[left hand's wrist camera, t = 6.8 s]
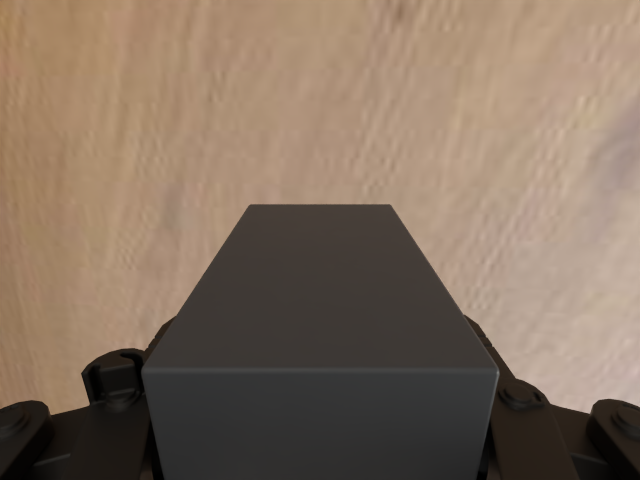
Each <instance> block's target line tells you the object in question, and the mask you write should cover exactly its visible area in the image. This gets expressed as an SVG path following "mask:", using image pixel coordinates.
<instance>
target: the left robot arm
mask: <svg viewBox="0 0 640 480" xmlns="http://www.w3.org/2000/svg"><path fill="white" fill-rule="evenodd" d="M464 316H465V318H466V319H467V321H468V322H469V324H470V325H471V327H472V328H473V330H474V331H475V333H476V334H477V336H478V337H479V339H480V341H481V342H482V344H483V345H484V347H485V348H486V350H487V351H488V353H489V354H490V356H491V357H492V359H493V360H494V362H495V363H496V365H497V366H498V368H499V378H498V382H497V387H496V392H495V396H494V401H493V405H492V410H491V415H490V419H489V424H488V428H487V433H486V438H485V442H484V447H483V452H482V456H481V461H480V465H479V470H478V475H477V479H476V480H640V407H638V406H636V405H633V404H630V403H627V402H624V401H620V400H614V399H604V400H599V401H597V402H596V403H595V404H594V405H593V407H592V410H591V413H590V414H588V413H584V412H579V411H575V410H571V409H567V408H562V407H559V406H555V405H552V404H550V403H549V401H548V399H547V398H546V396H545V395H544V394H543V393H542V392H541V391H539V390H538V389H537V388H536V387H534V386H533V385H531V384H529V383H527V382H525V381H523V380H519V379H516V378H515V377H514V375H513V374H512V372H511V371H510V369H509V368H508V367H507V365H506V364H505V362H504V361H503V359H502V358H501V357H500V355H499V354H498V352H497V351H496V349H495V348H494V347H492V344H491V342H490V341H489V339H488V338H486V335H485V334H484V332H483V331H482V329H481V328H480V326H479V325H478V324H477V323H476V322H474V321H473V320H471V319H470V318H469V317H467V316H466V315H464ZM175 317H176V316H175ZM175 317H173V318H172V319H171V320H169V321H168V322H167V323H165V324H164V325H162V327H161V328H160V330H159V331H158V333H157V334H156V335H155V339H153V340H152V341H151V343H150V344H149V346H148V348H146V350H145V351H143V350H139V349H135V348H129V349H120V350H116V351H112V352H109V353H107V354H104V355H102V356H100V357H98V358H96V359H95V360H94V361H92V362H91V363H90V364H88V365H87V366H86V368H85V369H84V370H83V372H82V373H81V375H82V378H83V382H84V385H85V389H86V392H87V395H88V399H89V402H90V405H89V406H87V407H83V408H80V409H76V410H72V411H67V412H63V413H59V414H55V415H50V412H49V409H48V406H46V405H45V404H44V403H43V402H40V401H33V400H30V401H24V402H18V403H15V404H12V405H9V406H7V407H4V408H2V409H0V480H164V477H163V472H162V468H161V463H160V458H159V454H158V449H157V444H156V440H155V435H154V431H153V426H152V421H151V417H150V412H149V407H148V403H147V398H146V393H145V389H144V384H143V380H142V375H141V370H142V367H143V366H144V364H145V363H146V361H147V360H148V358H149V356H150V355H151V353H152V352H153V350H154V349H155V347H156V346H157V344H158V343H159V341H160V340H161V338H162V337H163V335H164V334H165V332H166V331H167V329H168V328H169V326H170V325H171V323H172V322H173V320H174V319H175Z"/></svg>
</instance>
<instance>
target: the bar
mask: <svg viewBox="0 0 640 480" xmlns="http://www.w3.org/2000/svg"><path fill="white" fill-rule="evenodd" d="M141 375H142V380H143V384H144V389H145V393H146V398H147V403H148V407H149V412H150V417H151V421H152V426H153V431H154V435H155V440H156V444H157V449H158V454H159V458H160V463H161V468H162V472H163V477H164V480H476V479H477V475H478V470H479V465H480V461H481V456H482V452H483V447H484V442H485V438H486V433H487V428H488V424H489V419H490V415H491V410H492V405H493V401H494V396H495V392H496V387H497V382H498V378H499V368H498V366H497V365H496V363H495V362H494V360H493V359H492V357H491V356H490V354H489V353H488V351H487V350H486V348H485V347H484V345H483V344H482V342H481V341H480V339H479V337H478V336H477V334H476V333H475V331H474V330H473V328H472V327H471V325H470V324H469V322H468V321H467V319H466V318H465V316H464V315H463V313H462V312H461V310H460V309H459V307H458V306H457V304H456V303H455V301H454V300H453V298H452V297H451V295H450V294H449V292H448V291H447V289H446V288H445V286H444V285H443V283H442V282H441V280H440V279H439V277H438V276H437V274H436V273H435V271H434V269H433V268H432V266H431V265H430V263H429V262H428V260H427V259H426V257H425V256H424V254H423V253H422V251H421V250H420V248H419V247H418V245H417V244H416V242H415V241H414V239H413V238H412V236H411V235H410V233H409V232H408V230H407V229H406V227H405V226H404V224H403V223H402V221H401V220H400V218H399V217H398V215H397V214H396V212H395V211H394V209H393V208H392V206H391V205H249V206H248V208H247V209H246V211H245V212H244V214H243V215H242V217H241V218H240V220H239V221H238V223H237V225H236V226H235V228H234V229H233V231H232V232H231V234H230V235H229V237H228V238H227V240H226V241H225V243H224V244H223V246H222V247H221V249H220V250H219V252H218V253H217V255H216V256H215V258H214V259H213V261H212V262H211V264H210V265H209V267H208V268H207V270H206V272H205V273H204V275H203V276H202V278H201V279H200V281H199V282H198V284H197V285H196V287H195V288H194V290H193V291H192V293H191V294H190V296H189V297H188V299H187V300H186V302H185V303H184V305H183V306H182V308H181V309H180V311H179V312H178V314H177V316H176V317H175V319H174V320H173V322H172V323H171V325H170V326H169V328H168V329H167V331H166V332H165V334H164V335H163V337H162V338H161V340H160V341H159V343H158V344H157V346H156V347H155V349H154V350H153V352H152V353H151V355H150V356H149V358H148V360H147V361H146V363H145V364H144V366H143V367H142V370H141Z"/></svg>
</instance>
